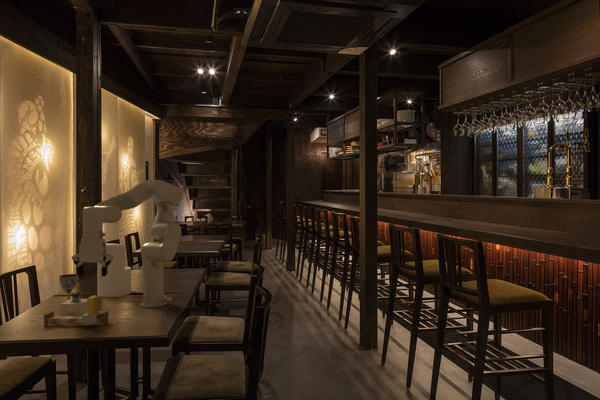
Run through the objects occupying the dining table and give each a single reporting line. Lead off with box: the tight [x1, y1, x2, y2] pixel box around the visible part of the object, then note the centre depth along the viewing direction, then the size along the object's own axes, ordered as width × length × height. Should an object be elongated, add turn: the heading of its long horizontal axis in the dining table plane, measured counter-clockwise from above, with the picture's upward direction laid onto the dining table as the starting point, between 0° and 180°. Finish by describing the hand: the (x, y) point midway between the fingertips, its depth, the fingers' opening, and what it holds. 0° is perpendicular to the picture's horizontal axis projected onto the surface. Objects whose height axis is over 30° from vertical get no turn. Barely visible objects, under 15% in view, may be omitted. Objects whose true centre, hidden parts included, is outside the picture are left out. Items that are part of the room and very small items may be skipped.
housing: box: [59, 298, 87, 316], centre depth 185 cm, size 9×9×7 cm
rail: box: [43, 310, 109, 327], centre depth 174 cm, size 24×5×5 cm, turn 91°
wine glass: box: [58, 273, 79, 301], centre depth 205 cm, size 8×8×15 cm
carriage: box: [82, 295, 105, 324], centre depth 174 cm, size 6×7×11 cm
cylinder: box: [96, 242, 132, 298], centre depth 230 cm, size 17×17×28 cm
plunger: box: [70, 291, 81, 303], centre depth 185 cm, size 4×4×7 cm
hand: (92, 276), depth 174 cm, fingers open, 9 cm apart
